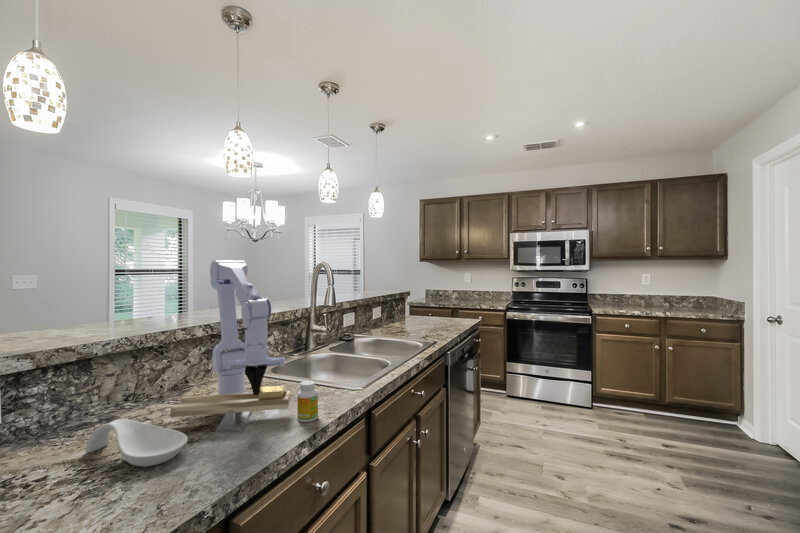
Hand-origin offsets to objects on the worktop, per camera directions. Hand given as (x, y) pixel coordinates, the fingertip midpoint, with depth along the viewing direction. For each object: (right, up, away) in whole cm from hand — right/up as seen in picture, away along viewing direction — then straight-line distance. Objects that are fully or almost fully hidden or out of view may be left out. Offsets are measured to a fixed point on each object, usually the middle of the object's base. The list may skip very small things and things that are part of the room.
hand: (256, 393), depth 98 cm
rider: (+4, -2, +1) cm, 4 cm away
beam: (-5, -3, -1) cm, 6 cm away
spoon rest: (-19, -8, -19) cm, 28 cm away
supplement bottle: (+14, -7, +1) cm, 15 cm away
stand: (-5, -7, -1) cm, 9 cm away
